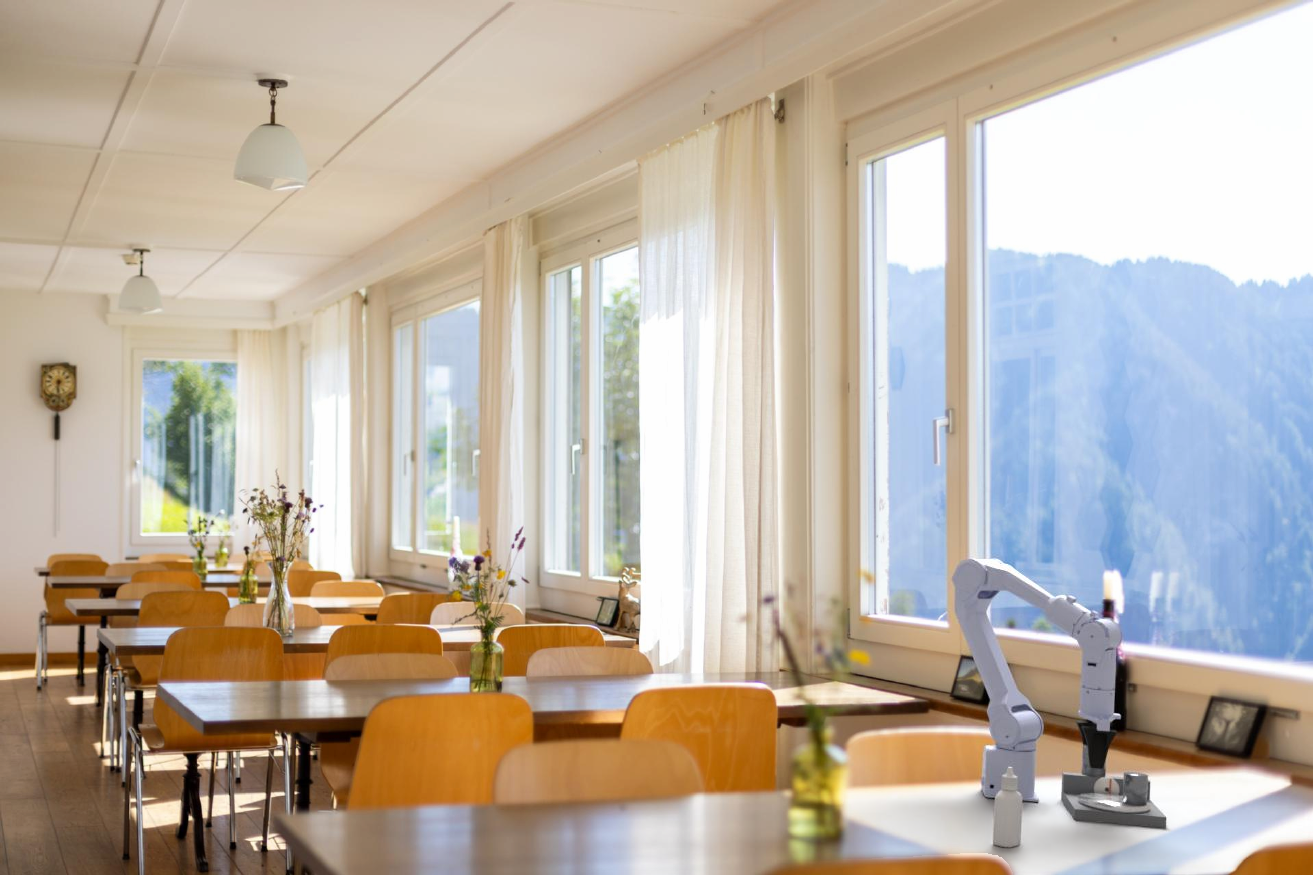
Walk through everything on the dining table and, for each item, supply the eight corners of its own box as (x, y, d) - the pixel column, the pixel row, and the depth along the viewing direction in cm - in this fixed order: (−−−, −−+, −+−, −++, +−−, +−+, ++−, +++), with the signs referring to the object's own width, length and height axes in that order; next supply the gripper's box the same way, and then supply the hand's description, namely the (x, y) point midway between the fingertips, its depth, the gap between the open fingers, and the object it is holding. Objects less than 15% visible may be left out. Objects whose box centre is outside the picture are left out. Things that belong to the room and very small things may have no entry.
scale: (1074, 819, 224) (1075, 789, 224) (1061, 799, 239) (1062, 770, 239) (1166, 827, 222) (1167, 796, 222) (1146, 806, 237) (1148, 777, 237)
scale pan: (1083, 809, 224) (1084, 805, 224) (1072, 793, 236) (1072, 790, 236) (1157, 816, 222) (1157, 812, 222) (1142, 799, 234) (1142, 796, 234)
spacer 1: (1084, 776, 228) (1085, 747, 228) (1079, 771, 232) (1080, 743, 232) (1108, 778, 227) (1109, 749, 228) (1102, 773, 231) (1103, 744, 232)
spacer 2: (1125, 804, 227) (1126, 775, 227) (1120, 799, 231) (1121, 770, 231) (1149, 806, 226) (1150, 777, 226) (1143, 801, 230) (1144, 772, 230)
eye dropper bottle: (983, 840, 207) (987, 764, 207) (1013, 839, 209) (1017, 763, 209) (999, 848, 203) (1002, 770, 203) (1030, 847, 205) (1033, 770, 205)
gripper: (1129, 695, 222) (1126, 775, 222) (1113, 683, 237) (1110, 758, 236) (1086, 692, 223) (1083, 772, 223) (1073, 680, 238) (1069, 755, 237)
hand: (1094, 765), depth 230 cm, fingers closed on spacer 1, 4 cm apart
